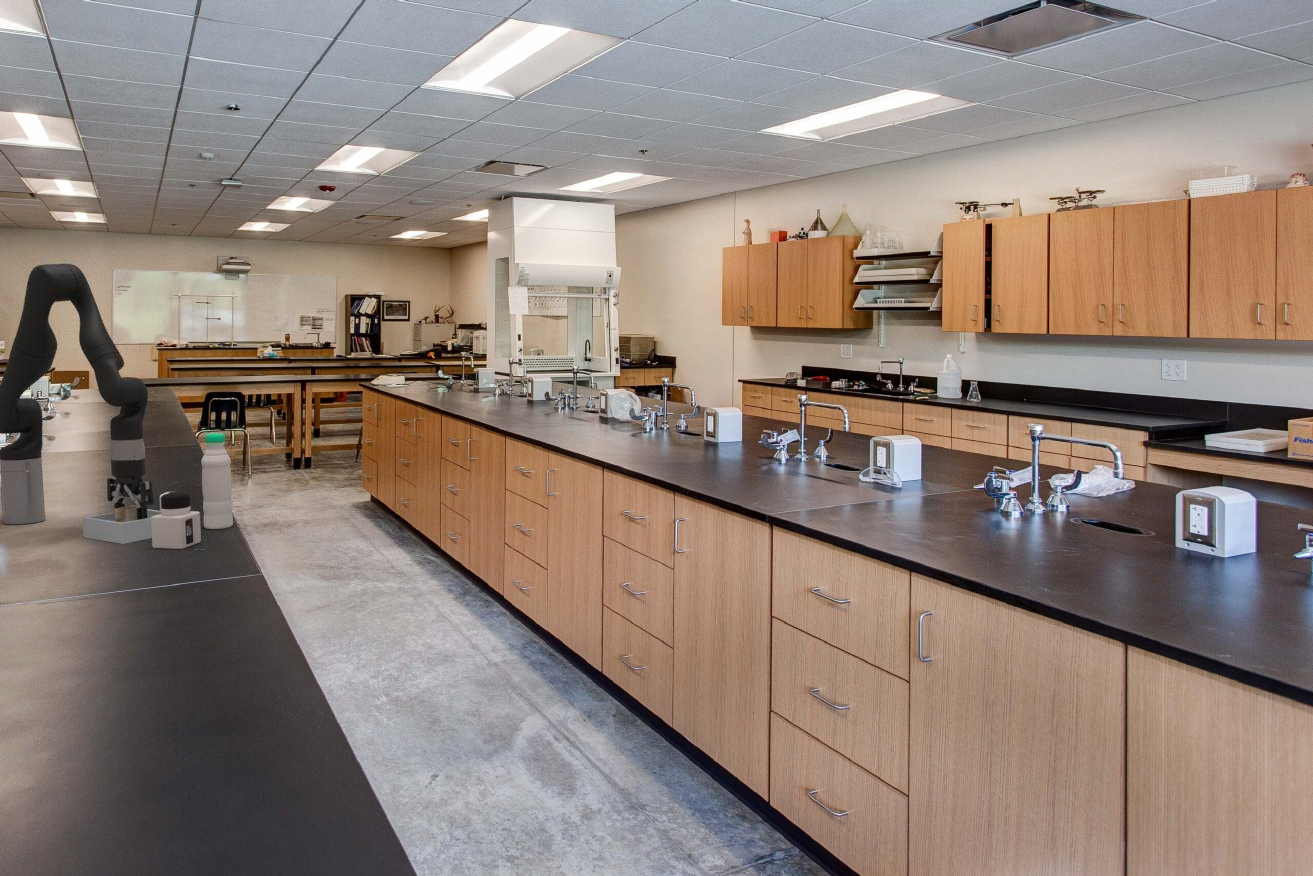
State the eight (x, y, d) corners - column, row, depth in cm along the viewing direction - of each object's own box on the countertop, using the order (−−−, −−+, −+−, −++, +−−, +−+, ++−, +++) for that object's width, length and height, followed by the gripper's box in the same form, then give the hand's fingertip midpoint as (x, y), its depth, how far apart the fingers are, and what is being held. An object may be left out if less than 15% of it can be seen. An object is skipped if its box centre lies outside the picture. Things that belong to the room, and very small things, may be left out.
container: (201, 542, 220) (199, 490, 219) (182, 549, 213) (179, 495, 211) (172, 541, 221) (169, 489, 220) (151, 548, 213) (149, 494, 212)
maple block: (115, 531, 226) (114, 508, 225) (134, 528, 230) (133, 505, 229) (128, 533, 223) (127, 510, 223) (147, 530, 228) (146, 507, 227)
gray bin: (83, 537, 223) (82, 517, 223) (140, 526, 237) (139, 508, 236) (123, 544, 217) (121, 523, 216) (178, 532, 230) (177, 513, 230)
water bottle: (225, 530, 234) (221, 435, 231) (198, 529, 234) (194, 434, 232) (238, 524, 241) (234, 432, 238) (212, 523, 241) (208, 432, 239)
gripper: (95, 456, 224) (98, 520, 226) (132, 460, 218) (135, 525, 220) (123, 453, 231) (126, 515, 233) (160, 457, 225) (163, 520, 227)
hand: (131, 520), depth 226 cm, fingers open, 8 cm apart
